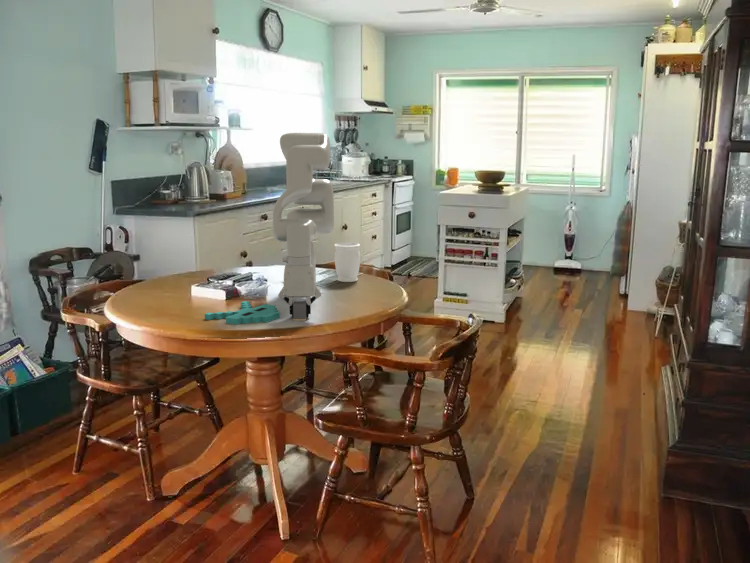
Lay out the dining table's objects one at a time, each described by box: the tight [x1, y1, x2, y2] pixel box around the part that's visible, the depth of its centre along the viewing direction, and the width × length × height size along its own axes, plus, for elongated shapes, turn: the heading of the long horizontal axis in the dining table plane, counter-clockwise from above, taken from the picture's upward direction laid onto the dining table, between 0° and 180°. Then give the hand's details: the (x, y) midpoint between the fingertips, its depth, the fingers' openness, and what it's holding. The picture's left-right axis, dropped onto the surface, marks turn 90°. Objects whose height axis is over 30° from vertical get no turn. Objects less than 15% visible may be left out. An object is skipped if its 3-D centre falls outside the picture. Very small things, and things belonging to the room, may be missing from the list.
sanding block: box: [293, 298, 308, 322], centre depth 221 cm, size 7×4×6 cm, turn 3°
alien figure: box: [204, 300, 281, 325], centre depth 224 cm, size 20×2×20 cm
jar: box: [333, 242, 361, 283], centre depth 278 cm, size 11×10×15 cm
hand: (300, 315), depth 222 cm, fingers closed on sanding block, 4 cm apart
